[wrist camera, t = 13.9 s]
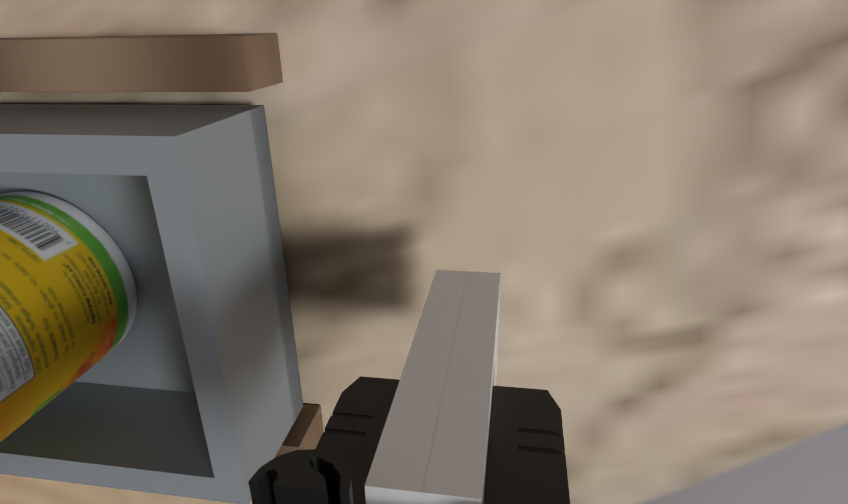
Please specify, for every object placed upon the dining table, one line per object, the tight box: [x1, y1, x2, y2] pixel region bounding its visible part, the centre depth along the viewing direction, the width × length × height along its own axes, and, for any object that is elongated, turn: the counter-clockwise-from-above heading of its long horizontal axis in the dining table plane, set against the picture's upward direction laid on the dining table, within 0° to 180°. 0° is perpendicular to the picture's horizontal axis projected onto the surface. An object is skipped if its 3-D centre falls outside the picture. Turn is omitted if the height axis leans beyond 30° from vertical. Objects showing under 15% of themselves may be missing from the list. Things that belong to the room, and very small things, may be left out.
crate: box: [0, 104, 303, 504], centre depth 15 cm, size 14×10×4 cm
